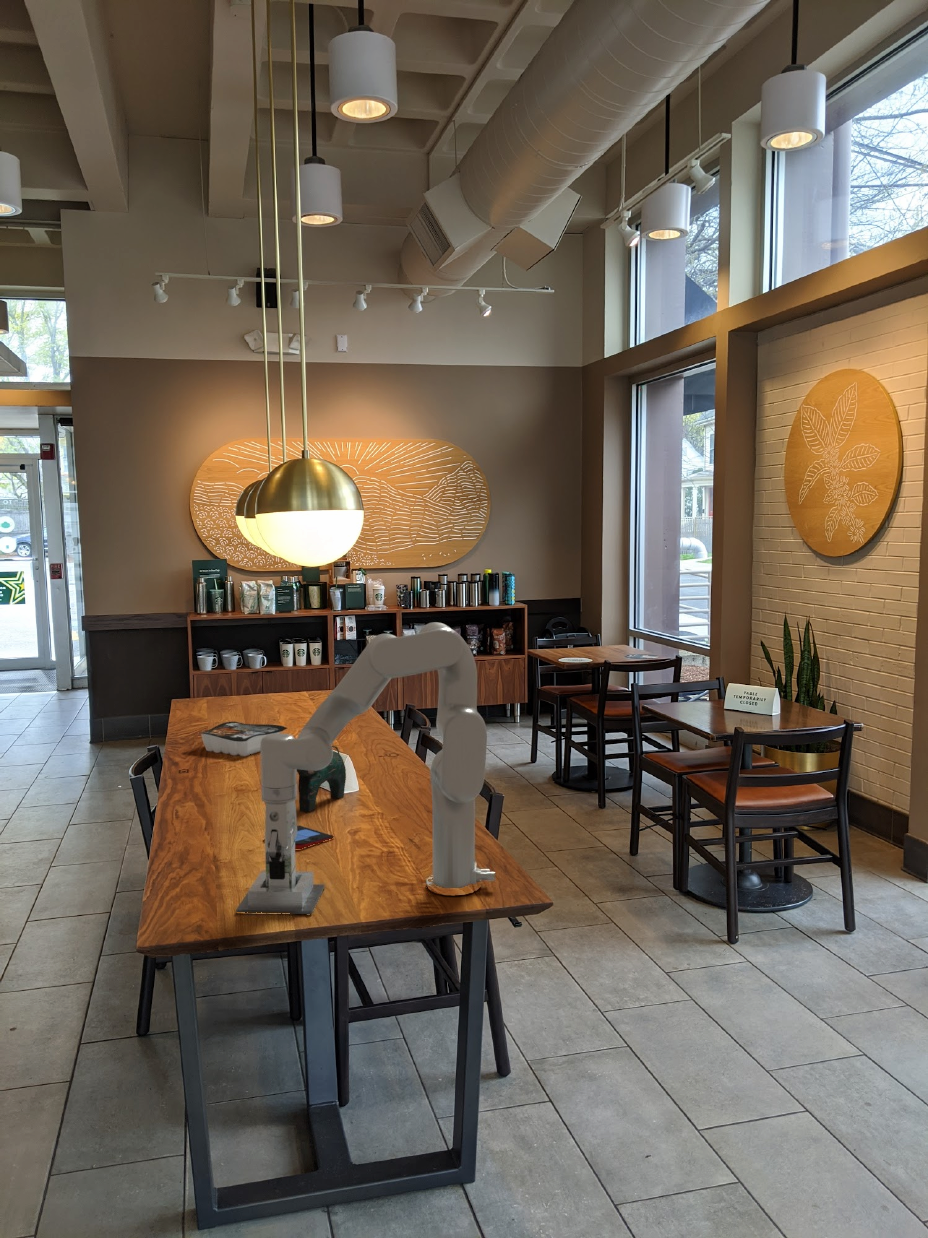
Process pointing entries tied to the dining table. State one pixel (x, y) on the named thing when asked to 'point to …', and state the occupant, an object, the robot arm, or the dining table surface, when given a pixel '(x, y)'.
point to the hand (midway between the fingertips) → (281, 872)
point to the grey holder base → (282, 896)
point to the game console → (309, 837)
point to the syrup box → (289, 866)
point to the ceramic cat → (314, 779)
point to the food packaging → (238, 737)
